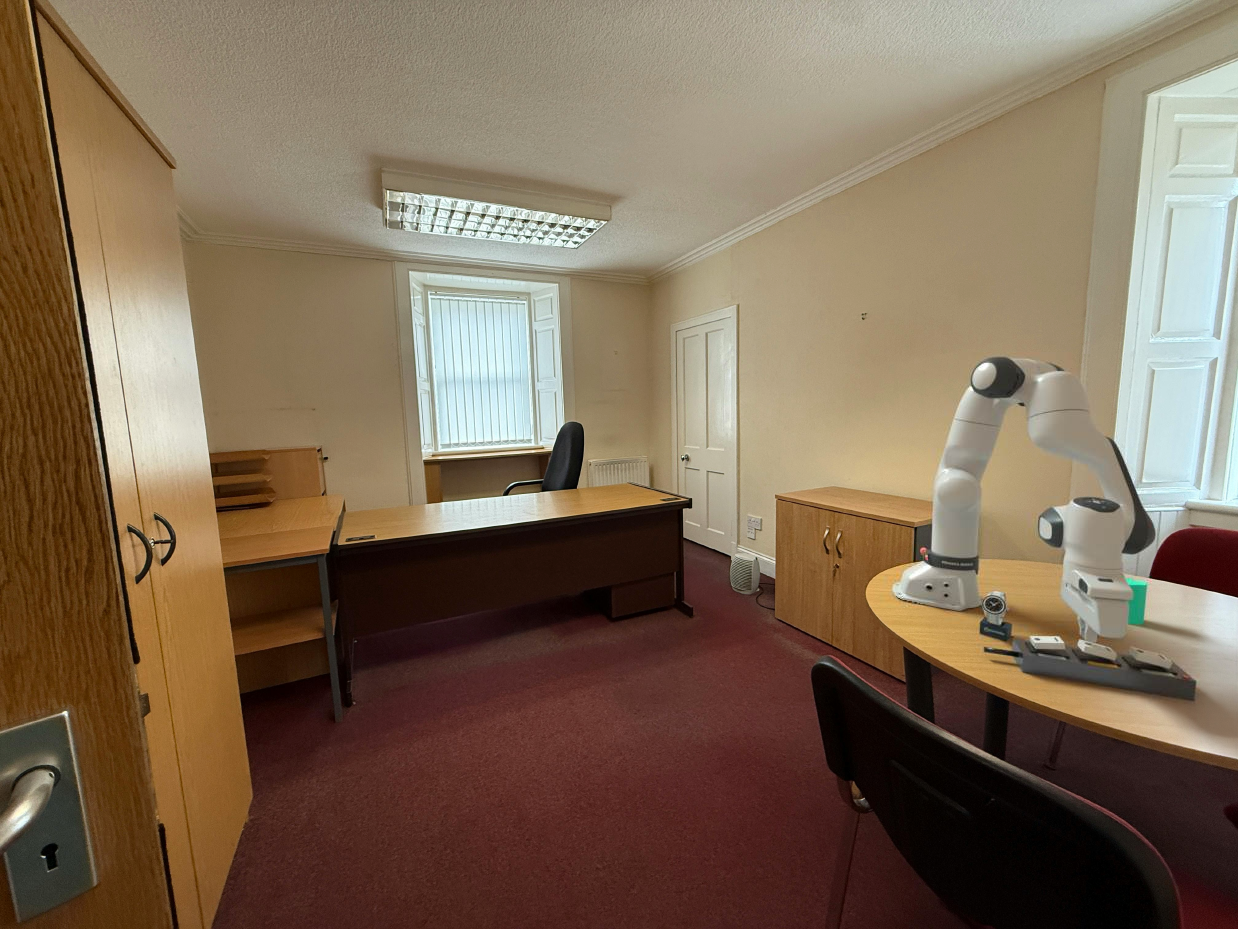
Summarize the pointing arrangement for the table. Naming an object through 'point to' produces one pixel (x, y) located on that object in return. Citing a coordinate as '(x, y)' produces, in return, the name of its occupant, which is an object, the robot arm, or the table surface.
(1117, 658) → the strip
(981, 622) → the watch
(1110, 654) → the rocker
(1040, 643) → the plate
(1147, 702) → the table surface
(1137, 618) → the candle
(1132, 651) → the rocker
